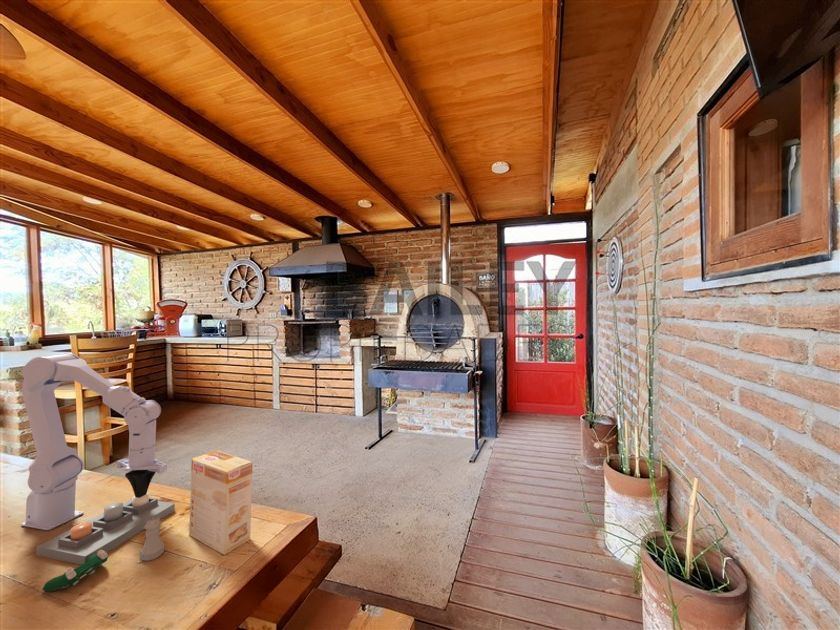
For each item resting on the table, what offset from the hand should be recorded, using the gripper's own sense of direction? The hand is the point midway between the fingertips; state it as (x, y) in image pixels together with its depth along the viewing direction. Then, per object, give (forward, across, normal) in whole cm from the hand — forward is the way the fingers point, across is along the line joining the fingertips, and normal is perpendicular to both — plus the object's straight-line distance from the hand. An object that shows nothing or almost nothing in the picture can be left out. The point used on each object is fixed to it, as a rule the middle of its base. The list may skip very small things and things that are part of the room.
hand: (140, 495), depth 94 cm
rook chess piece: (+6, +18, -12) cm, 22 cm away
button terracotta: (+3, 0, -14) cm, 14 cm away
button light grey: (+2, 0, -7) cm, 7 cm away
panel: (+5, 0, -7) cm, 9 cm away
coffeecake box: (+6, +28, -3) cm, 29 cm away
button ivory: (+3, 0, 0) cm, 3 cm away
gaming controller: (+6, +10, -21) cm, 24 cm away
